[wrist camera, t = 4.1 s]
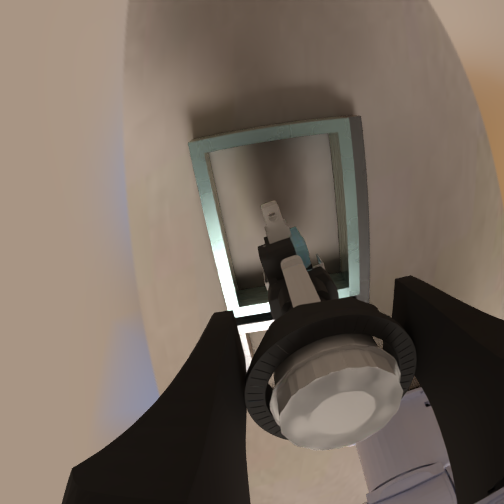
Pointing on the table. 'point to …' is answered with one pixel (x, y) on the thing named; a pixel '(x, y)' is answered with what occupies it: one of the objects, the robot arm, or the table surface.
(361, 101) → the table surface
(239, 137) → the grey teal rectangular frame
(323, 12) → the table surface
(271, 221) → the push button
